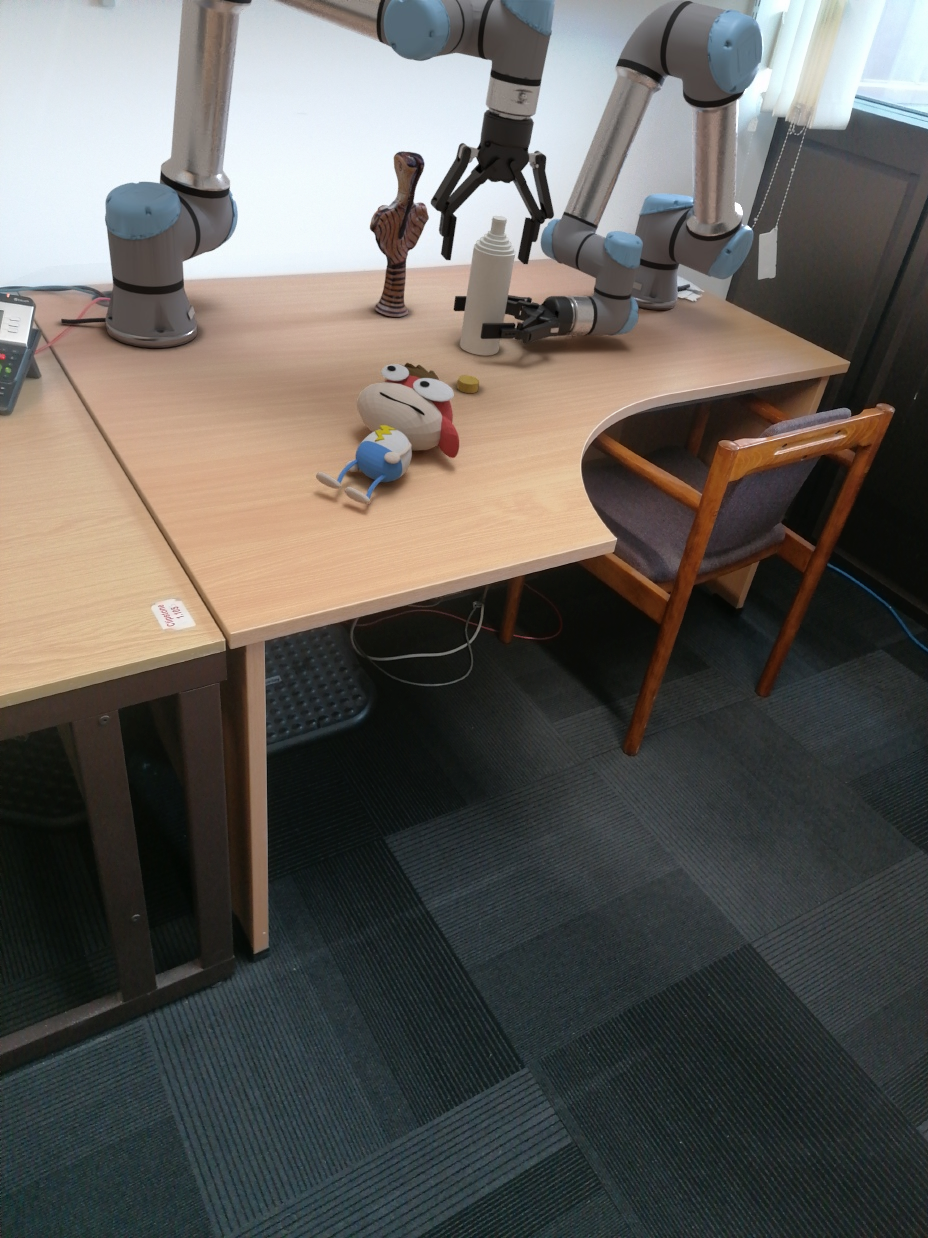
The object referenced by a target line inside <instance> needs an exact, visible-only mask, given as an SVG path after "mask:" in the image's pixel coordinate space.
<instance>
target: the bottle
mask: <svg viewBox="0 0 928 1238" xmlns="http://www.w3.org/2000/svg"><path fill="white" fill-rule="evenodd" d="M507 222H508V220H507V218H506V217H505V216H502V215H493V216H492V218H491V225H490V230H488V231H487V233H485V234H483V236H481V237H480V238H479V239H477V240H476V242H475V243H474V245H473V249H472V257H471V263H470V271H469V277H468V283H467V291H466V296H467V297H466V304H465V311H463V317H462V318H463V319H462V325H461V331H460V332H461V334H460V340H459V347H460V348H461V349H462V351H465V352H467V353H470V354H472V355H476V356H485V357H486V356H493V355H497V354H498V353H499V351H500V345H501V339H481V331H482V324H483V323H505V317H506V314H505V310H506V305H507V299H508V295H509V293H510V287H511V280H512V276H513V271H514V270H513V269H514V263H515V259H516V250H515V246H514V245H513V243H512V241H510V238H509V237H508V236H507V233H505V232H506V225H507Z"/></svg>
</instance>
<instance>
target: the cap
mask: <svg viewBox="0 0 928 1238" xmlns="http://www.w3.org/2000/svg"><path fill="white" fill-rule="evenodd" d="M479 387H480V380H479V379H478V378H477V377H475V376H472V375H469V374H468V375H467V374H463V375H460V376H458V378H457V383H456V389H458V391H459V392H461V393H465V394H474V393H477V392H478V391H479Z"/></svg>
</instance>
